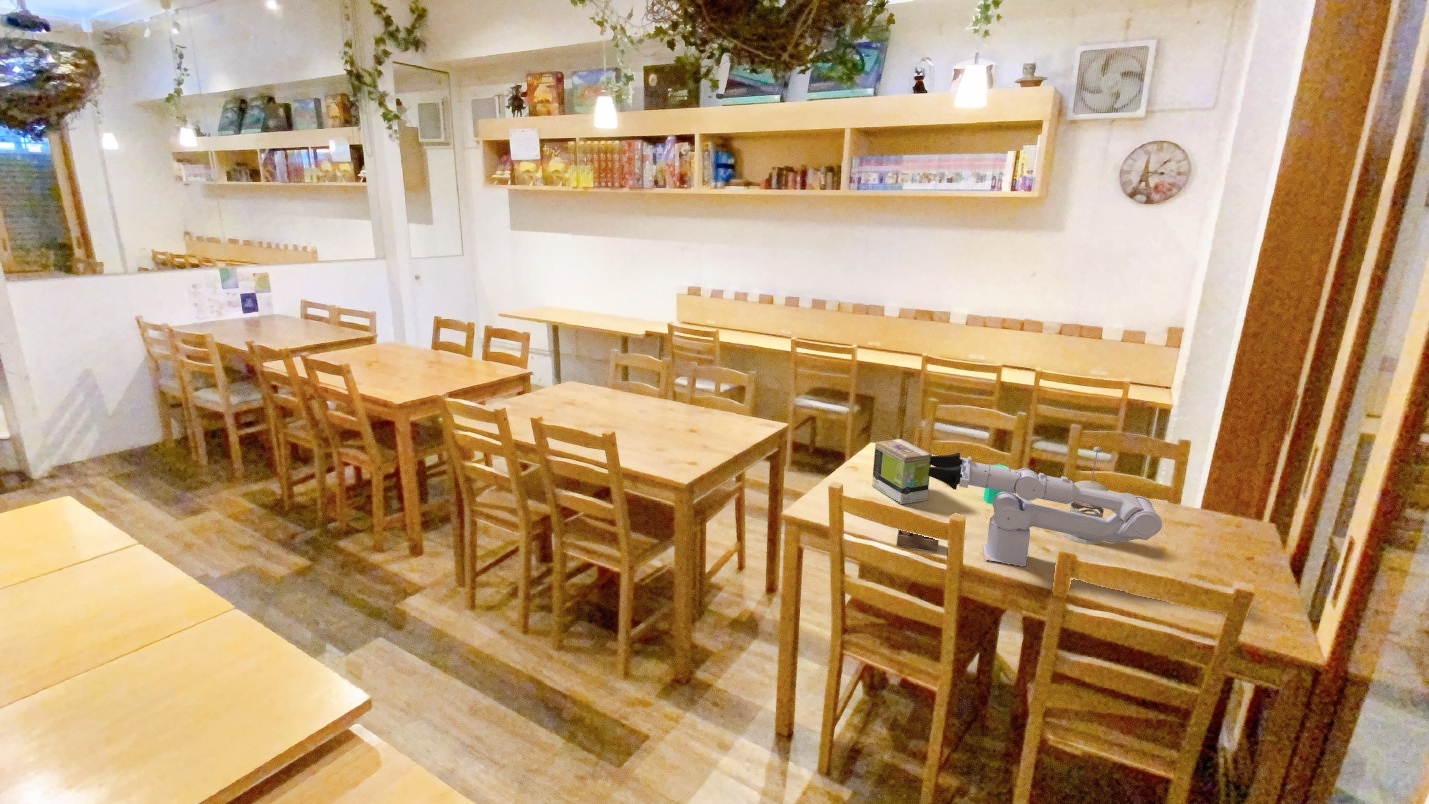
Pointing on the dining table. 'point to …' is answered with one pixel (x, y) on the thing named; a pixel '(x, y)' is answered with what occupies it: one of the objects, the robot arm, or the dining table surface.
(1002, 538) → the robot arm
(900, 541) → the plug block
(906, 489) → the tea box
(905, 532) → the terracotta plug
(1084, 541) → the french press
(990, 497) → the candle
